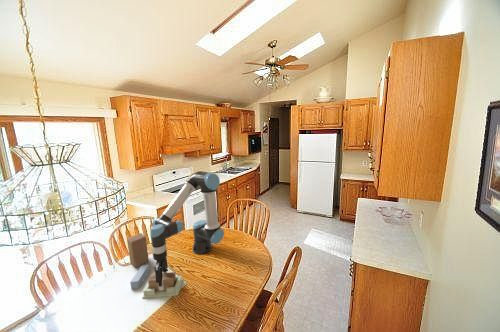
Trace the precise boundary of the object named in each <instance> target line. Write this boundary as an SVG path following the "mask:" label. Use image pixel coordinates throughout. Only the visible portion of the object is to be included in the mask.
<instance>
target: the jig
mask: <svg viewBox="0 0 500 332" xmlns="http://www.w3.org/2000/svg"><path fill="white" fill-rule="evenodd" d="M183 282H184V278H183V276H182V275H176V285H175V287H167V289H166V290H161V291H155V288H153V289H149V283H148V282H147V284H146V286H145V287H144V289H143V290H142V291H143V295H142V297H141V298H142V299H152V298H151V297H153V298H164V296H165V297H176V296H179V293H180V290H181V287H182V285H183Z"/></svg>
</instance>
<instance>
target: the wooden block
mask: <svg viewBox="0 0 500 332" xmlns="http://www.w3.org/2000/svg"><path fill="white" fill-rule="evenodd" d="M126 242H127V249H128V254H129V255H128V256H129V261H130V263H131V265H132V266H133V267H134V268H138V267H139V266H140V267H141V266H142V265H145V264H146V263H148V262H149V261H150V259H149V253H148V251H149V250H148V244H147V237H146V236H145V235H144V234H143V233H140V232H139V233H137V234H134V235H131V236H129V237H127V239H126Z"/></svg>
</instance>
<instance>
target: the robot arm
mask: <svg viewBox="0 0 500 332" xmlns="http://www.w3.org/2000/svg"><path fill="white" fill-rule="evenodd" d="M220 184H221V183H220V177H219V176H218V174H216V173H215V172H210V171H209V172H208V171H196V172H194V173H192V174H191V175H190V176H189V177H188V178H187V179H186V180H185V181H184V184H183V186H182V188H181V189H180V190H179V191H178V193H177V194H175V195H176V196H174V198H173V199H172V200H171V202H170V203H169V204H168V206H167V207H166V208H165V209H164V211H163V212H162V213H161V215H160V216H157V217H155V218H154V219H153V220H152V226H151V227H150V229H149V231H150V232H149V233H150V234H149V236H150V241H151V249H152V251H151V252H152V257H153V260H154V261H156V262H155V263H156V264H155V265H156V266H154V274H155V275H156V283H158V286H159V291H161V290H164V283H163V280H162V273H168V271H169V269H168V268H169V266H168V265H169V264H168V260H167V259H168V258H167V257H168V252H167V241H166V240H167V239H169V238H171V237H173V236H175V235H177V234H180V233H181V232H183V230H184V225H183V222H182V221H181V220H178V219H177V220H174V221H172V220H173V219H174V217H175V216H176V214H178V212H179V211H180V209H181V208H182V207H183V205H184V204H185V203H186V201H187V200H188V198H189V197H190V195H192V193H193V192H194V191H196V190H197V189H198V188H200V192H201V193H202V194H203V203H204V204H203V206H204V214H205V215H204V217H205V219H201V220H197V221H195V222H194V223H193V225H192V231H193V240H194V241H193V245H192V252H193V253H194V254H196V255H205V254H207V253H209V252H211V250H212V248H213V245H218V244H220V243H221V242H222V240H223V238H224V235H225V231H224V229H223V228H221V223H220V222H219V221H218V220H219V218H218V209H217V208H218V207H217V199H216V198H217V196H216V192H217V191H218V189H219V186H220ZM212 244H213V245H212Z"/></svg>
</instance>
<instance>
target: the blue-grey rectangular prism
mask: <svg viewBox="0 0 500 332" xmlns="http://www.w3.org/2000/svg"><path fill="white" fill-rule="evenodd" d="M149 272H150V265H149V264H142V265H140V267H139V268H138V270H137V271H136V273H135V275H134V276H133V277H132V279H131V280H130V289H131V290H134V289H135V288H136V289H140V288H141V286H140V285H142V284H143V283H144V281H143V280H145V278H146V277H147V276H148V274H149ZM146 275H147V276H146Z"/></svg>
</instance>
